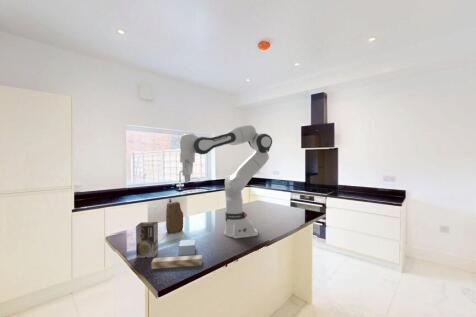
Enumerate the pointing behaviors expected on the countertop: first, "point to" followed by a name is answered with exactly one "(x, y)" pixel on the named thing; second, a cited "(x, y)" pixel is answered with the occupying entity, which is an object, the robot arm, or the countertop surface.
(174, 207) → the block
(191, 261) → the oak board
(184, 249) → the blue block
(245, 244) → the countertop surface
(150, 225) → the coffee box
